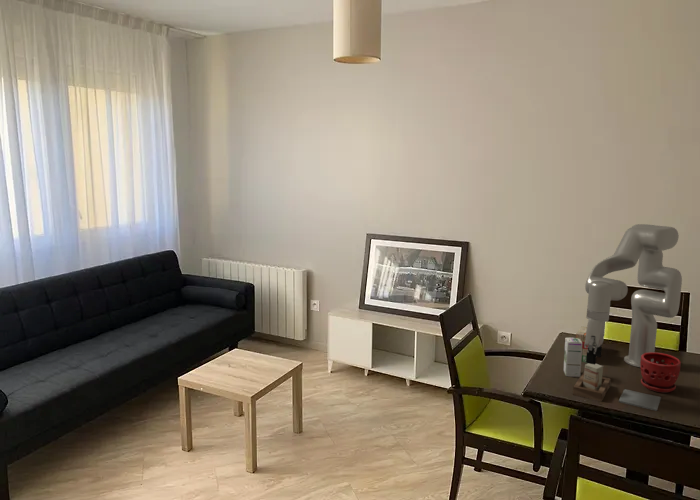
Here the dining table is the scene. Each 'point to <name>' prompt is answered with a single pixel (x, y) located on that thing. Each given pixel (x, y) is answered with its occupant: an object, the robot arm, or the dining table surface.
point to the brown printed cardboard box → (583, 342)
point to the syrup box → (572, 357)
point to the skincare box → (592, 376)
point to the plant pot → (659, 371)
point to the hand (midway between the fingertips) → (593, 359)
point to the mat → (640, 399)
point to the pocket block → (590, 393)
